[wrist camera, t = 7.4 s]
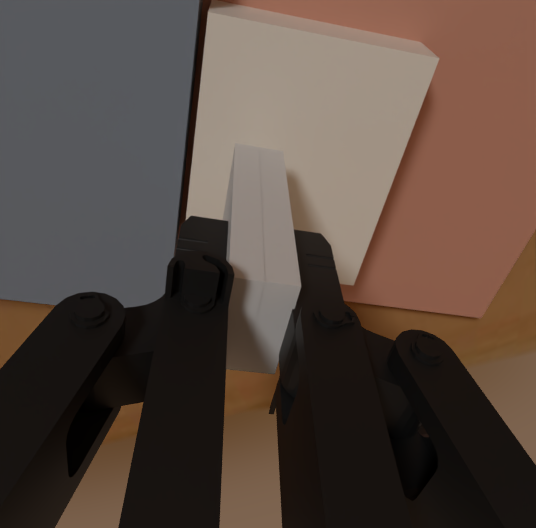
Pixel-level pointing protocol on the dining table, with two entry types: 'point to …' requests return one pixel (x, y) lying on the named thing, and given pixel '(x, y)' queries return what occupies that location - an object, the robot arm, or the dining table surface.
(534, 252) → the dining table surface
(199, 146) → the tile
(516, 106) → the mat
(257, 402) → the dining table surface
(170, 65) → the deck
